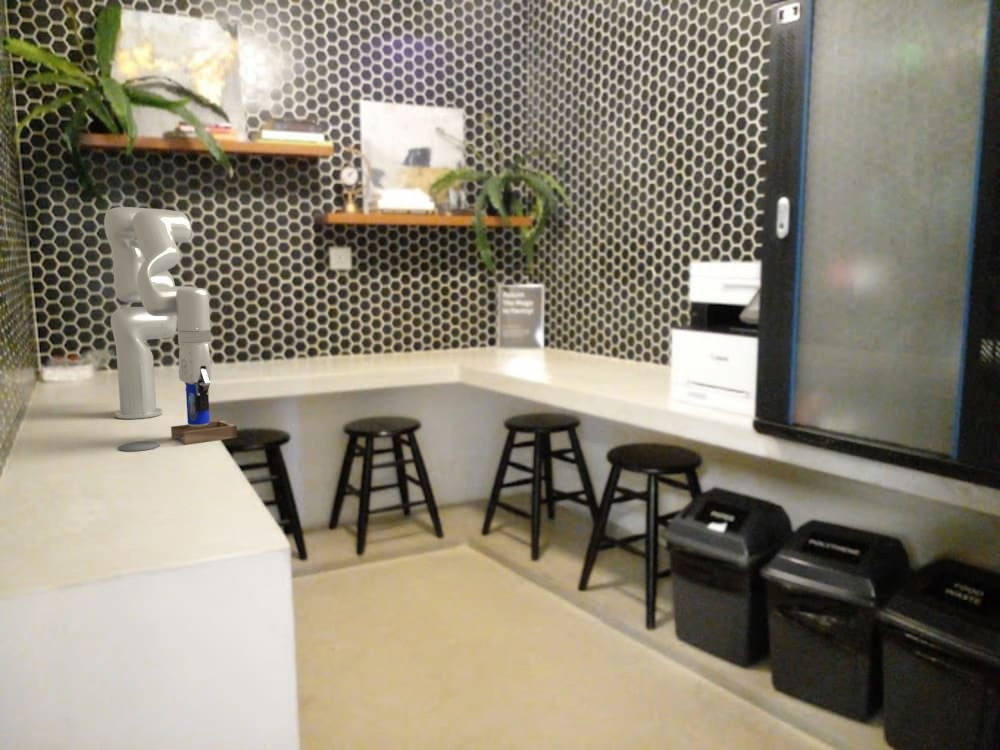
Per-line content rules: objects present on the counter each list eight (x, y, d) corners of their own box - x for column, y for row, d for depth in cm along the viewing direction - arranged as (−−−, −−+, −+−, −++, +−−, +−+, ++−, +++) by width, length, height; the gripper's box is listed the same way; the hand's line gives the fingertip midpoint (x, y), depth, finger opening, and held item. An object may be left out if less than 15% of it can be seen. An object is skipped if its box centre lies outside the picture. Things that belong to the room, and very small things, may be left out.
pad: (113, 446, 182) (113, 444, 182) (152, 441, 188) (152, 439, 188) (124, 453, 175) (124, 451, 175) (164, 447, 181) (164, 445, 181)
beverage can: (183, 425, 190) (180, 366, 188) (202, 422, 194) (199, 364, 192) (194, 428, 187) (191, 368, 185) (213, 424, 191) (211, 366, 189)
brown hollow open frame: (171, 438, 191) (170, 426, 191) (222, 431, 200) (221, 420, 199) (185, 444, 184) (184, 432, 183) (237, 437, 192) (236, 425, 192)
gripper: (167, 336, 191) (171, 406, 194) (191, 341, 179) (195, 416, 181) (196, 334, 196) (200, 402, 199) (222, 339, 184) (226, 412, 186)
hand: (197, 408), depth 190 cm, fingers closed on beverage can, 5 cm apart
